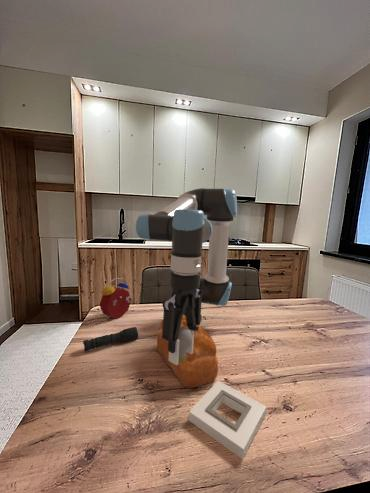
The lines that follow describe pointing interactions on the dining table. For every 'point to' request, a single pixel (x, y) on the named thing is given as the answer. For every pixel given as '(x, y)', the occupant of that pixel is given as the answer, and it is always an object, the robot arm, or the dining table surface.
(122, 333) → the flashlight
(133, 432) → the dining table surface
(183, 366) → the bread
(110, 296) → the alarm clock
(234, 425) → the socket block
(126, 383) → the dining table surface
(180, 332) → the light bulb
